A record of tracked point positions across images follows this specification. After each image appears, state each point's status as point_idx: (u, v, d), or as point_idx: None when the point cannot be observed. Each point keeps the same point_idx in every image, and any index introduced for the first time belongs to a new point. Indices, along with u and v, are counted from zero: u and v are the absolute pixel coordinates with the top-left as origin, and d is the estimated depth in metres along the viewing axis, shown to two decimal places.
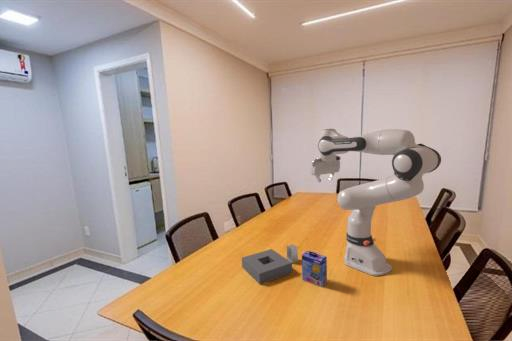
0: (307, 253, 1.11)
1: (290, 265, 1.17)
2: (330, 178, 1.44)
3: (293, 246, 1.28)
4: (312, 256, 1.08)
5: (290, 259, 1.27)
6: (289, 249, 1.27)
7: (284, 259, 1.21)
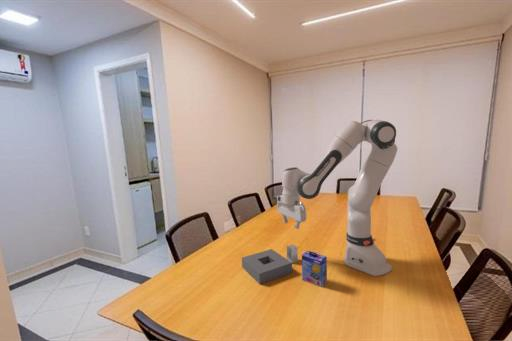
0: (307, 253, 1.11)
1: (290, 265, 1.17)
2: (287, 220, 1.31)
3: (293, 246, 1.28)
4: (312, 256, 1.08)
5: (290, 259, 1.27)
6: (289, 249, 1.27)
7: (284, 259, 1.21)
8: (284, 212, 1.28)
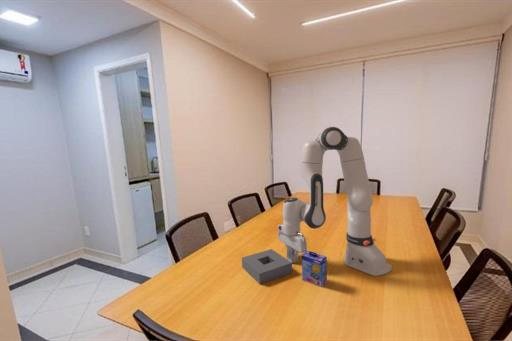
0: (307, 253, 1.11)
1: (290, 265, 1.17)
2: None
3: None
4: (312, 256, 1.08)
5: (290, 259, 1.27)
6: (289, 249, 1.27)
7: (284, 259, 1.21)
8: (285, 241, 1.30)
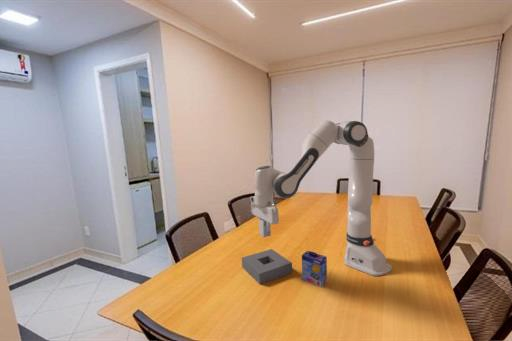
0: (307, 253, 1.11)
1: (290, 265, 1.17)
2: None
3: None
4: (312, 256, 1.08)
5: (262, 232, 1.17)
6: (261, 221, 1.17)
7: (284, 259, 1.21)
8: (257, 213, 1.21)
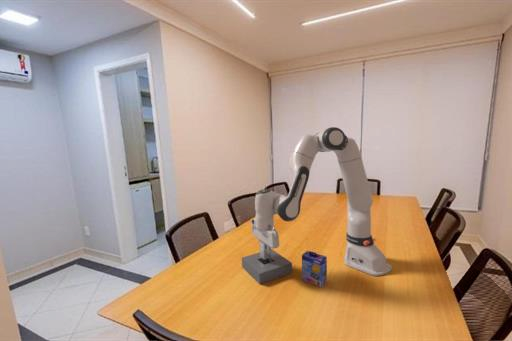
0: (307, 253, 1.11)
1: (290, 265, 1.17)
2: None
3: None
4: (312, 256, 1.08)
5: (263, 255, 1.19)
6: (262, 244, 1.19)
7: (284, 259, 1.21)
8: (258, 235, 1.22)
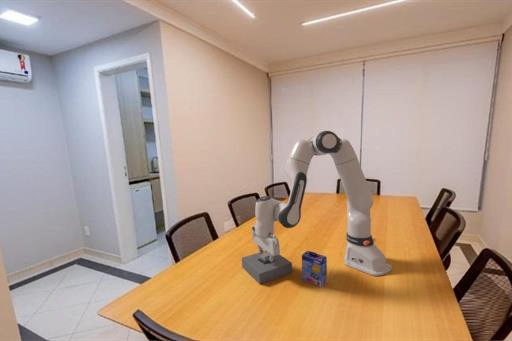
0: (307, 253, 1.11)
1: (290, 265, 1.17)
2: (262, 251, 1.25)
3: (267, 254, 1.21)
4: (312, 256, 1.08)
5: None
6: (263, 257, 1.19)
7: (284, 259, 1.21)
8: (258, 242, 1.22)
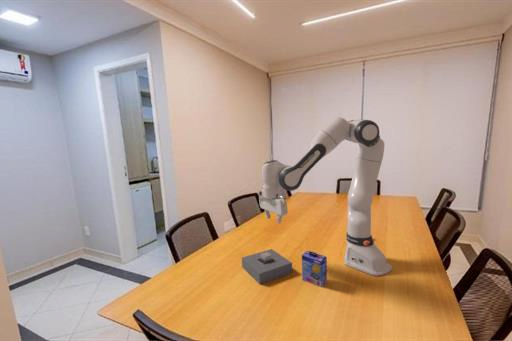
0: (307, 253, 1.11)
1: (290, 265, 1.17)
2: (270, 215, 1.27)
3: (267, 254, 1.21)
4: (312, 256, 1.08)
5: None
6: (263, 257, 1.19)
7: (284, 259, 1.21)
8: (266, 207, 1.25)
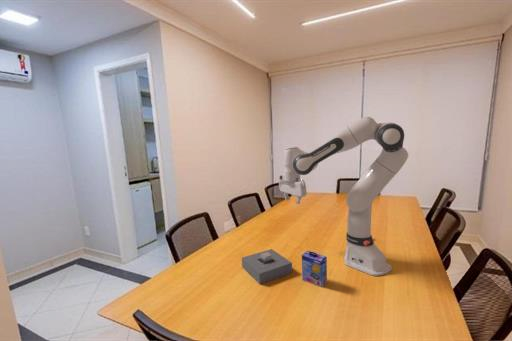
0: (307, 253, 1.11)
1: (290, 265, 1.17)
2: None
3: (267, 254, 1.21)
4: (312, 256, 1.08)
5: None
6: (263, 257, 1.19)
7: (284, 259, 1.21)
8: (285, 189, 1.37)
